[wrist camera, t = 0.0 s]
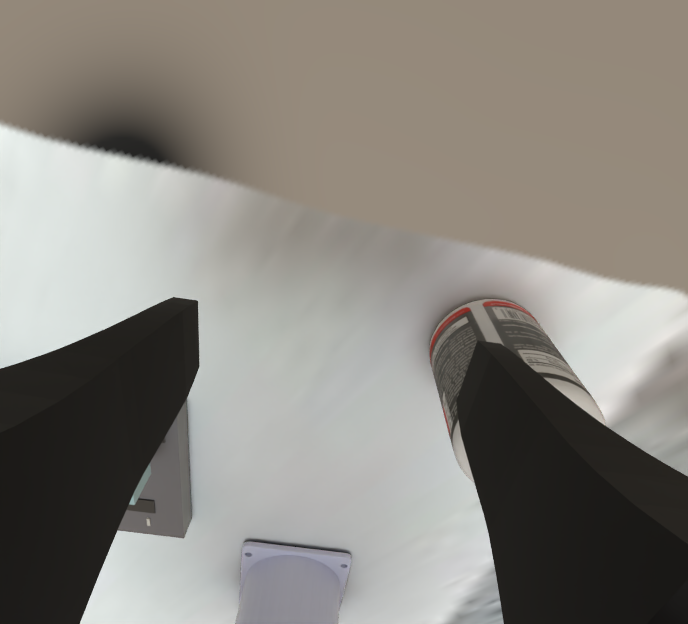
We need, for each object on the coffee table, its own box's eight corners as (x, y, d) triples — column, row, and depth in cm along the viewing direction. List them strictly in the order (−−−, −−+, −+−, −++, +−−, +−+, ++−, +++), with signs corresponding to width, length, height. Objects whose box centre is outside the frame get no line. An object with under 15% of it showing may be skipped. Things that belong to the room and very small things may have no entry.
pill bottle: (446, 398, 25) (492, 574, 16) (412, 318, 22) (446, 474, 14) (548, 366, 23) (659, 539, 15) (525, 278, 21) (642, 423, 12)
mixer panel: (191, 518, 31) (183, 539, 29) (-4, 494, 30) (-22, 515, 29) (186, 398, 25) (176, 417, 24) (-51, 367, 25) (-75, 385, 23)
